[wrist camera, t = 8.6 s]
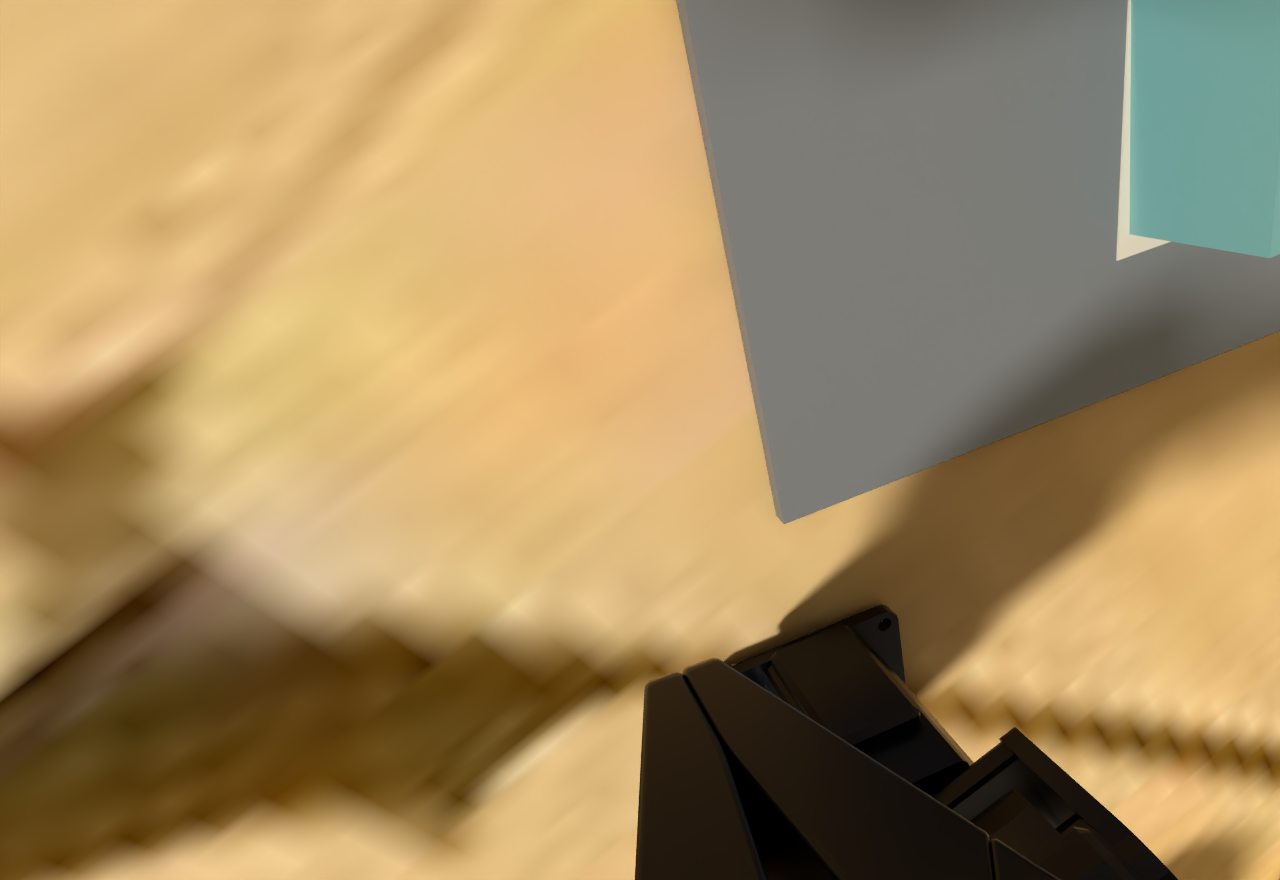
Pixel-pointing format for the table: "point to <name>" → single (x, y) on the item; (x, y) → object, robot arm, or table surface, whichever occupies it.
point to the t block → (1206, 123)
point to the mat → (939, 229)
